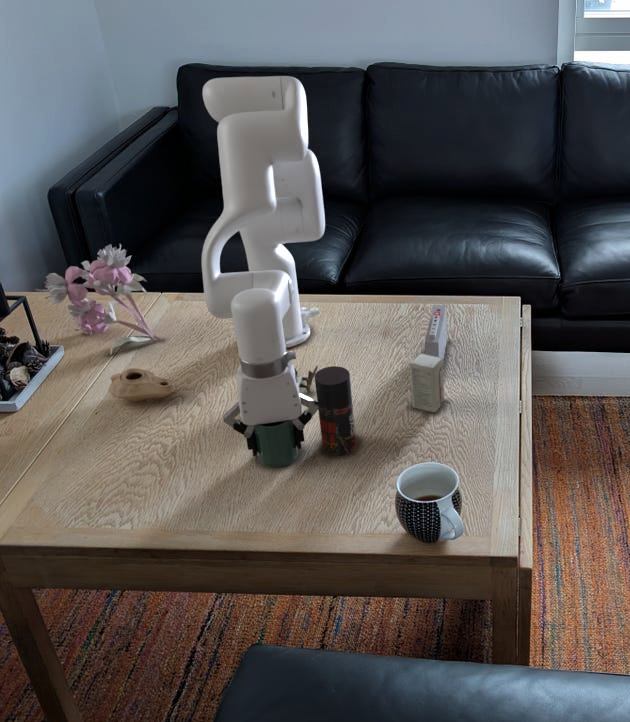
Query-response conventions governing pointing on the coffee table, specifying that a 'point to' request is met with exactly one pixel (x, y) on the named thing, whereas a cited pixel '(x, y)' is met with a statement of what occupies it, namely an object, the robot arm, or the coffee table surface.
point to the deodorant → (335, 410)
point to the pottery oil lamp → (139, 385)
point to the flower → (104, 280)
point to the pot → (276, 443)
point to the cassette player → (436, 332)
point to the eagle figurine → (306, 379)
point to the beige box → (427, 382)
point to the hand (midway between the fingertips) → (277, 447)
